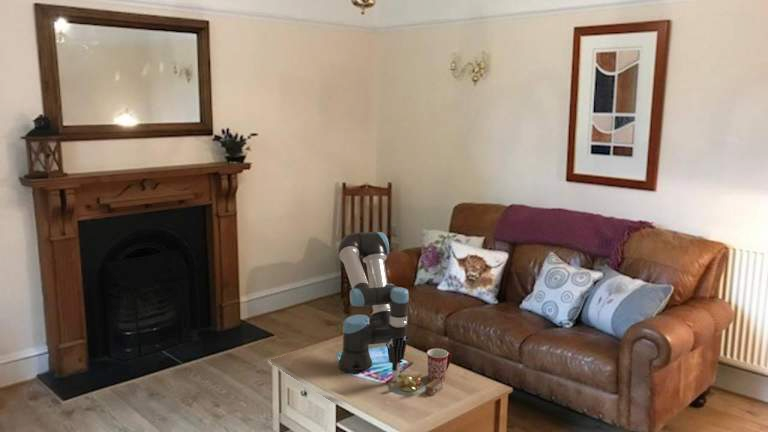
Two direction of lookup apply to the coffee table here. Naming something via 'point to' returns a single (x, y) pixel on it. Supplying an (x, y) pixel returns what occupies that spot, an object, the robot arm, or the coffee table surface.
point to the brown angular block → (433, 387)
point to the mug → (438, 364)
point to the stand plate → (400, 392)
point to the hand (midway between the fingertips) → (395, 376)
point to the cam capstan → (408, 382)
